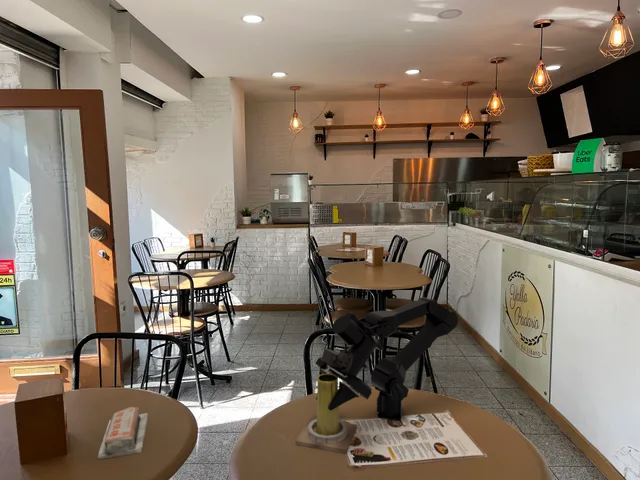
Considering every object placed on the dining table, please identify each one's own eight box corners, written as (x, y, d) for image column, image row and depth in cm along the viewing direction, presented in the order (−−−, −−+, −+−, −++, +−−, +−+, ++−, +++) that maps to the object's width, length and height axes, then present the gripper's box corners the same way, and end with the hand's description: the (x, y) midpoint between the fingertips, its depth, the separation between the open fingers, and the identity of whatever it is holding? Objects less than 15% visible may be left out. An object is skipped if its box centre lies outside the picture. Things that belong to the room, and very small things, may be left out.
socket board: (356, 428, 117) (357, 419, 117) (346, 453, 106) (346, 443, 105) (310, 420, 121) (310, 412, 121) (295, 444, 110) (295, 435, 109)
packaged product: (141, 435, 106) (96, 442, 103) (142, 454, 107) (97, 462, 104) (147, 401, 123) (108, 407, 120) (148, 418, 124) (109, 423, 121)
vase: (343, 433, 112) (343, 380, 110) (321, 439, 109) (321, 384, 108) (333, 421, 117) (333, 370, 116) (312, 427, 115) (311, 375, 113)
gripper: (320, 328, 120) (285, 375, 116) (361, 348, 105) (323, 404, 100) (344, 349, 125) (311, 396, 121) (387, 372, 110) (351, 427, 105)
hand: (323, 404), depth 112 cm, fingers closed on vase, 5 cm apart
